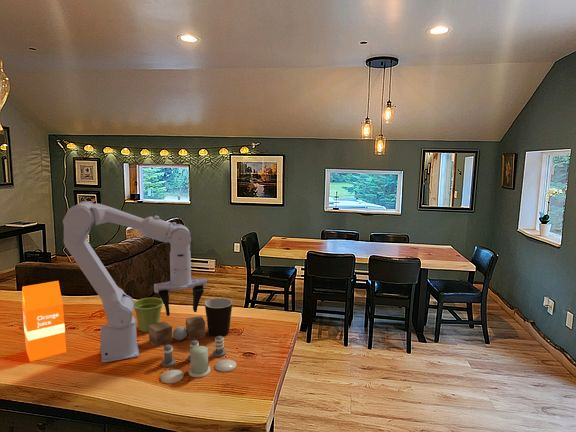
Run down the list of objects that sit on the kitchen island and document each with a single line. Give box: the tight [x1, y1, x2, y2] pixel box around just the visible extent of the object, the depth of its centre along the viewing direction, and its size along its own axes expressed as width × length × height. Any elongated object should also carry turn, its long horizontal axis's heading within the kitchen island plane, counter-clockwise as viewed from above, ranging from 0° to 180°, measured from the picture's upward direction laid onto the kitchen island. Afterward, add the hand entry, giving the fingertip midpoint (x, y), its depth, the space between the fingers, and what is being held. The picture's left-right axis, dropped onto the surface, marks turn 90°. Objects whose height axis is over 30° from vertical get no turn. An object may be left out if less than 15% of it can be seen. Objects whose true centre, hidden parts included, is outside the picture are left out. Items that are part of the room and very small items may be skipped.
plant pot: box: [134, 297, 164, 333], centre depth 126 cm, size 9×9×9 cm
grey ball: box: [172, 326, 187, 341], centre depth 120 cm, size 4×4×4 cm
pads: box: [159, 358, 237, 384], centre depth 103 cm, size 20×6×1 cm, turn 114°
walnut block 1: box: [148, 320, 173, 348], centre depth 118 cm, size 5×5×5 cm
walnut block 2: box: [185, 315, 206, 341], centre depth 123 cm, size 5×5×5 cm
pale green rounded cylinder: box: [190, 345, 209, 374], centre depth 102 cm, size 4×4×6 cm
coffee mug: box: [204, 297, 233, 338], centre depth 126 cm, size 12×9×10 cm
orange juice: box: [21, 280, 67, 363], centre depth 110 cm, size 8×9×20 cm
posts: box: [161, 336, 227, 368], centre depth 109 cm, size 18×4×5 cm, turn 114°
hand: (181, 312), depth 114 cm, fingers open, 7 cm apart
